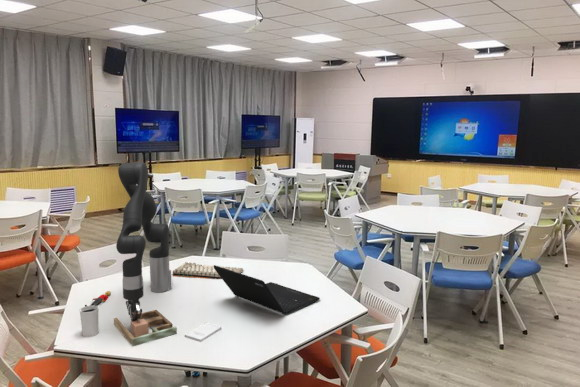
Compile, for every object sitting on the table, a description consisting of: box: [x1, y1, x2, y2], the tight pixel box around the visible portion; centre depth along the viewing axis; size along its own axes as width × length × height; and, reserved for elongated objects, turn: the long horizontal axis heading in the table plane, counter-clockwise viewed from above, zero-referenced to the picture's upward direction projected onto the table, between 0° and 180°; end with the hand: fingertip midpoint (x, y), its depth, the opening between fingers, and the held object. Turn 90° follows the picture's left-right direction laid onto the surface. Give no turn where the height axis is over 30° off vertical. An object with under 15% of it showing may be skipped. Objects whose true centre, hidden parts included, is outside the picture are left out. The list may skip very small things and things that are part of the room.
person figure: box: [84, 290, 112, 307], centre depth 202 cm, size 5×4×18 cm
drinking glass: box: [79, 305, 100, 338], centre depth 170 cm, size 7×7×10 cm
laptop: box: [213, 265, 321, 315], centre depth 202 cm, size 33×38×19 cm
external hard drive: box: [183, 322, 222, 343], centre depth 172 cm, size 2×8×12 cm
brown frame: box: [113, 309, 178, 347], centre depth 175 cm, size 17×23×2 cm
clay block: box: [130, 319, 150, 338], centre depth 170 cm, size 5×5×5 cm
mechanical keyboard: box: [171, 261, 244, 280], centre depth 244 cm, size 38×19×3 cm, turn 80°
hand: (134, 327), depth 174 cm, fingers closed
